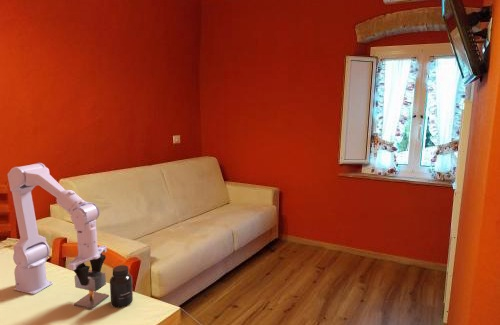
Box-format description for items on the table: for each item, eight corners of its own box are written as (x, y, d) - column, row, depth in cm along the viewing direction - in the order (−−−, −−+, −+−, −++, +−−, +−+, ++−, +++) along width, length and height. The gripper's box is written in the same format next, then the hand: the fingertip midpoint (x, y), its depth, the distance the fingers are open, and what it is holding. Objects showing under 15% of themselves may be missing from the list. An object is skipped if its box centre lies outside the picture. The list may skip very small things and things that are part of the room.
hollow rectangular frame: (75, 287, 113) (74, 275, 112) (86, 280, 117) (85, 269, 116) (95, 291, 110) (94, 280, 109) (106, 284, 115) (105, 273, 114)
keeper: (73, 305, 112) (72, 292, 111) (92, 292, 119) (91, 280, 119) (91, 309, 110) (90, 296, 109) (108, 296, 117) (108, 283, 116)
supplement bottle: (125, 309, 110) (123, 274, 108) (106, 307, 111) (104, 272, 109) (137, 298, 116) (135, 264, 114) (118, 295, 118) (116, 262, 116)
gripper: (80, 252, 103) (83, 294, 105) (113, 234, 117) (115, 272, 119) (61, 249, 105) (65, 290, 107) (96, 232, 119) (98, 269, 121)
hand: (90, 280), depth 113 cm, fingers closed on hollow rectangular frame, 5 cm apart
